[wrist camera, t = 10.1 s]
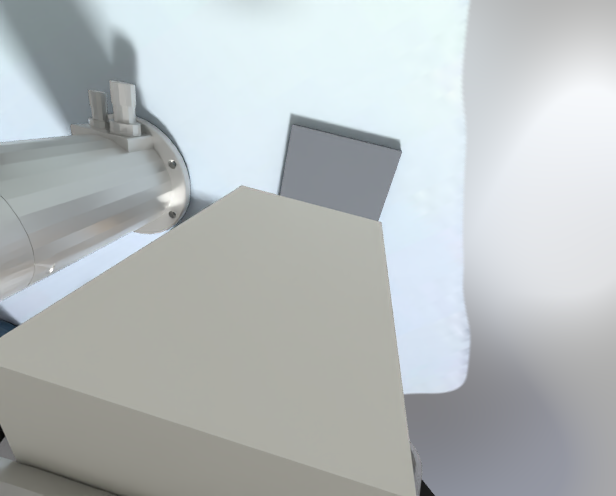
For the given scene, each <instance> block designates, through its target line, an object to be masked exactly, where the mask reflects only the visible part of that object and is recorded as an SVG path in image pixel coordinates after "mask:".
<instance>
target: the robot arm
mask: <svg viewBox="0 0 616 496" xmlns="http://www.w3.org/2000/svg"><path fill="white" fill-rule="evenodd" d="M109 84H110V95H111V103H112V105H113V114H108V112H107V108H108V103H107V93H106V92H102V91H97V90H88V94H89V103H90V106H91V112H92V117H90V118H88V121H89V123H88V124H71V126H70V127H71V133H72V135H70V136H59V137H49V138H39V139H28V140H18V141H7V142H0V302H1V301H3V300H5V299H7V298H9V297H10V296H12V295H14V294H16V293H18V292H20V291H22V290H24V289H26V288H28V287H30V286H32V285H34V284H35V283H37V282H39V281H41V280H43V279H45V278H47V277H49V276H50V275H52V274H54V273H56V272H58V271H60V270H62V269H64V268H65V267H67V266H69V265H71V264H73V263H75V262H77V261H79V260H80V259H82V258H84V257H86V256H88V255H90V254H92V253H94V252H95V251H97V250H99V249H101V248H103V247H105V246H107V245H109V244H110V243H112V242H114V241H116V240H118V239H120V238H122V237H124V236H125V235H127V234H129V233H131V232H137V233H141V234H155V233H160V232H163V231H165V230H168V229H169V228H171V227H172V226H174V225H175V224H177V223H178V222H179V221H180V220H181V219H182V217H183V216H184V214H185V212H186V211H187V208H188V205H189V201H190V193H191V190H190V179H189V175H188V171H187V168H186V165H185V163H184V161H183V158H182V156H181V155H180V153H179V151H178V150H177V148H176V146H175V145H174V144H173V143H172V142H171V140H170V139H169V138H168V137H167V136H166V135H165V134H164V133H163V132H162V131H161V130H160V129H158V128H157V127H156V126H154V125H153V124H151V123H149V122H148V121H146V120H144V119H141V118H139V117H137V116H136V114H135V107H136V92H135V85H134V84H130V83H126V82H121V81H114V80H109ZM409 442H410V441H409ZM410 450H411V458H412V465H413V473H414V481H415V489H416V496H435V495H434V494H433V493H432V492H431V490H430V489H429V488H428V487H427V485H426V484H425V483H424V482H423V480H422V463H421V460H420V457H419V454H418V453H417V451H416V449H415V447H414V446H413V445H412V443H411V442H410ZM0 496H118V495H115V494H112V493H109V492H106V491H103V490H100V489H97V488H94V487H91V486H88V485H85V484H82V483H79V482H76V481H73V480H70V479H67V478H64V477H61V476H59V475H56V474H53V473H50V472H47V471H44V470H41V469H38V468H35V467H31V466H28V465H25V464H22V463H19V462H17V461H16V458H15V456H14V454H13V452H12V449H11V447H10V445H9V443H8V441H7V438H6V436H5V434H4V432H3V429H2V427H1V425H0Z"/></svg>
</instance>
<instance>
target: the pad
mask: <svg viewBox="0 0 616 496" xmlns="http://www.w3.org/2000/svg"><path fill="white" fill-rule="evenodd" d="M401 154H402V151H401V150H397V149H393V148H389V147H385V146H380V145H376V144H372V143H368V142H364V141H360V140H356V139H352V138H348V137H344V136H340V135H336V134H332V133H328V132H323V131H319V130H315V129H311V128H307V127H303V126H299V125H295V124H293V125H292V128H291V134H290V139H289V145H288V151H287V157H286V163H285V168H284V174H283V180H282V186H281V192H280V196H284V197H287V198H291V199H295V200H299V201H303V202H306V203H310V204H314V205H318V206H322V207H326V208H329V209H333V210H337V211H341V212H345V213H348V214H352V215H356V216H360V217H364V218H367V219H371V220H375V221H378V220H379V217H380V214H381V211H382V209H383V206H384V203H385V200H386V197H387V194H388V191H389V188H390V185H391V183H392V180H393V177H394V174H395V171H396V168H397V165H398V162H399V159H400V156H401Z"/></svg>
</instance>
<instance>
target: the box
mask: <svg viewBox="0 0 616 496" xmlns="http://www.w3.org/2000/svg"><path fill="white" fill-rule="evenodd" d="M0 425H1V427H2V429H3V432H4V434H5V436H6V438H7V441H8V443H9V445H10V447H11V449H12V452H13V454H14V456H15V458H16V461H17V462H19V463H22V464H25V465H28V466H31V467H35V468H38V469H41V470H44V471H47V472H50V473H53V474H56V475H59V476H61V477H64V478H67V479H70V480H73V481H76V482H79V483H82V484H85V485H88V486H91V487H94V488H97V489H100V490H103V491H106V492H109V493H112V494H115V495H118V496H416V489H415V481H414V473H413V465H412V458H411V450H410V442H409V435H408V426H407V419H406V411H405V403H404V395H403V387H402V380H401V372H400V364H399V356H398V348H397V341H396V333H395V325H394V317H393V309H392V302H391V294H390V286H389V278H388V270H387V263H386V255H385V247H384V239H383V231H382V224H381V222H379V221H375V220H371V219H367V218H364V217H360V216H356V215H352V214H348V213H345V212H341V211H337V210H333V209H329V208H326V207H322V206H318V205H314V204H310V203H306V202H303V201H299V200H295V199H291V198H287V197H284V196H280V195H276V194H272V193H268V192H265V191H261V190H257V189H253V188H249V187H246V186H240V187H239V188H237V189H235V190H234V191H232V192H231V193H229V194H227V195H226V196H224V197H223V198H221V199H219V200H218V201H216V202H215V203H213V204H212V205H210V206H208V207H207V208H205V209H204V210H202V211H200V212H199V213H197V214H196V215H194V216H192V217H191V218H189V219H188V220H186V221H184V222H183V223H181V224H180V225H178V226H177V227H175V228H173V229H172V230H170V231H169V232H167V233H165V234H164V235H162V236H161V237H159V238H157V239H156V240H154V241H153V242H151V243H150V244H148V245H146V246H145V247H143V248H142V249H140V250H138V251H137V252H135V253H134V254H132V255H130V256H129V257H127V258H126V259H124V260H123V261H121V262H119V263H118V264H116V265H115V266H113V267H111V268H110V269H108V270H107V271H105V272H103V273H102V274H100V275H99V276H97V277H95V278H94V279H92V280H91V281H89V282H88V283H86V284H84V285H83V286H81V287H80V288H78V289H76V290H75V291H73V292H72V293H70V294H68V295H67V296H65V297H64V298H62V299H61V300H59V301H57V302H56V303H54V304H53V305H51V306H49V307H48V308H46V309H45V310H43V311H41V312H40V313H38V314H37V315H35V316H34V317H32V318H30V319H29V320H27V321H26V322H24V323H22V324H21V325H19V326H18V327H16V328H14V329H13V330H11V331H10V332H8V333H7V334H5V335H3V336H2V337H0Z"/></svg>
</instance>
